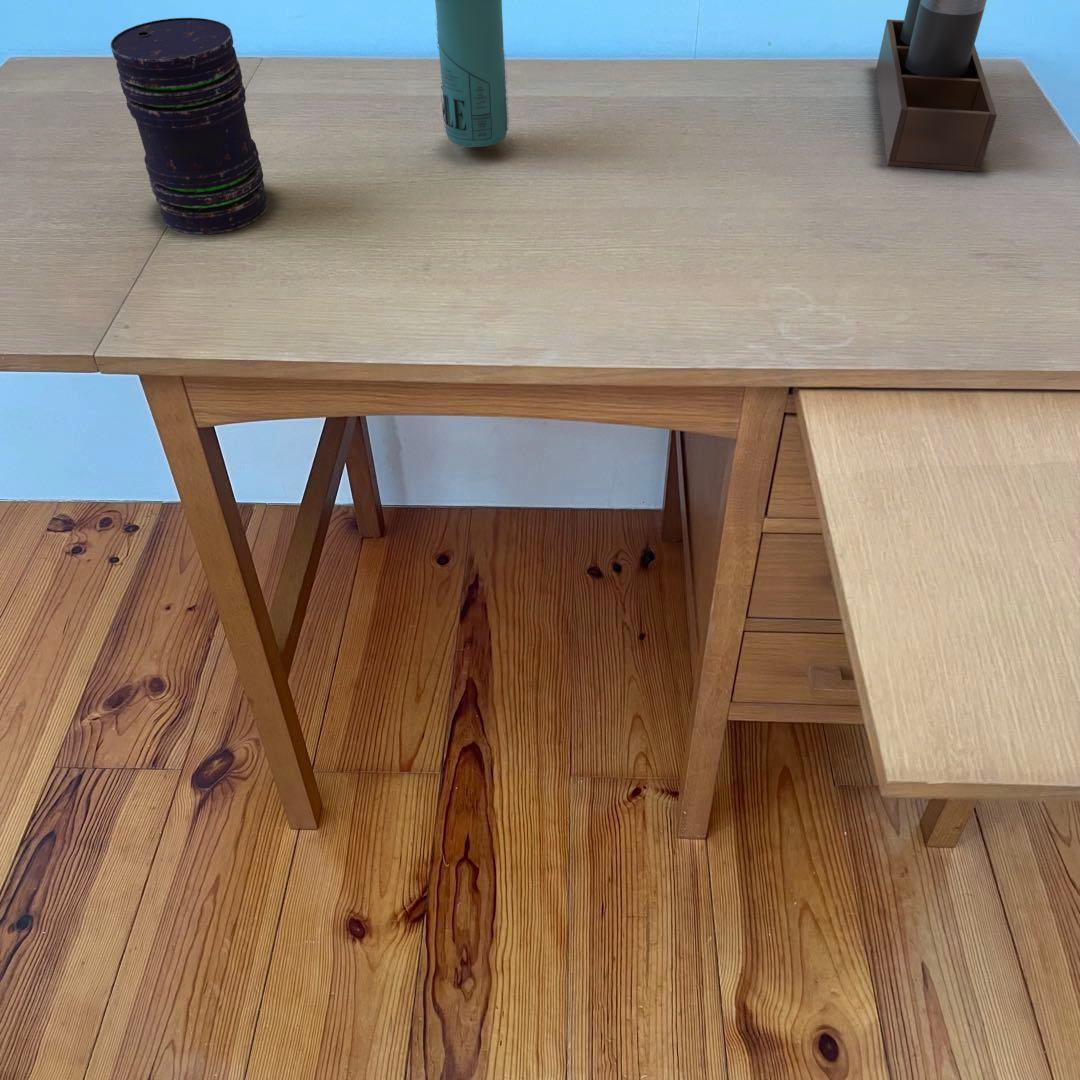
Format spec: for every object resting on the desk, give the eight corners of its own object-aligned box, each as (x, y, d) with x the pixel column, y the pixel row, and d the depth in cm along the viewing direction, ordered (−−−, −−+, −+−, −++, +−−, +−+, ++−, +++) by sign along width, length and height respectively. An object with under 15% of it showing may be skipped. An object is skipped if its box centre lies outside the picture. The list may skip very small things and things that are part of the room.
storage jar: (289, 194, 95) (256, 25, 84) (230, 243, 89) (185, 67, 78) (201, 177, 98) (158, 11, 87) (137, 223, 91) (82, 50, 81)
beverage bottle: (520, 141, 103) (514, -83, 88) (491, 168, 98) (480, -63, 84) (464, 130, 105) (449, -91, 90) (432, 156, 100) (412, -71, 86)
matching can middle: (965, 113, 105) (1012, -48, 94) (931, 129, 102) (975, -34, 92) (917, 96, 108) (956, -61, 98) (882, 111, 106) (919, -49, 95)
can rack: (953, 75, 114) (967, 23, 110) (979, 172, 97) (997, 114, 93) (875, 70, 115) (886, 19, 111) (887, 165, 98) (901, 108, 94)
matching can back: (958, 83, 111) (1000, -71, 100) (925, 98, 108) (966, -59, 97) (911, 68, 114) (948, -83, 103) (879, 82, 111) (913, -72, 101)
